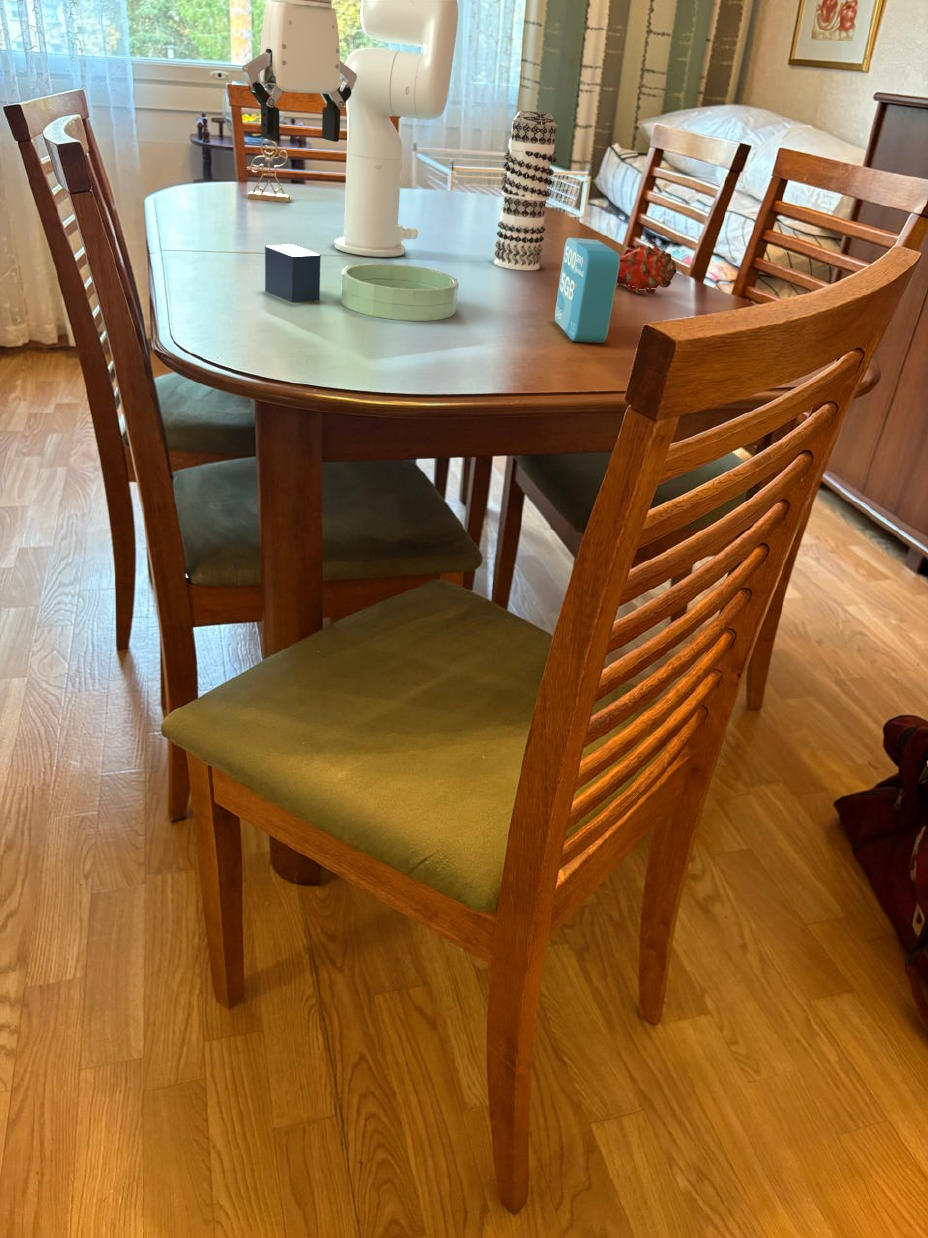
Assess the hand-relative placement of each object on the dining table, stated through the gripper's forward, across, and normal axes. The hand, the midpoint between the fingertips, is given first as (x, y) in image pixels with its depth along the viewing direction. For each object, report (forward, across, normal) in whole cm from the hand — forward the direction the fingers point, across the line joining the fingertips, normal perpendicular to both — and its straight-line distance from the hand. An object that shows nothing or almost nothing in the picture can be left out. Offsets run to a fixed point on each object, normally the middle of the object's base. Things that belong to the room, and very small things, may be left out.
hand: (301, 139), depth 131 cm
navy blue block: (+20, +4, +4) cm, 21 cm away
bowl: (+20, -8, +14) cm, 25 cm away
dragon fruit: (+21, -58, +18) cm, 64 cm away
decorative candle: (+21, -51, -5) cm, 55 cm away
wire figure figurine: (+22, -42, -75) cm, 89 cm away
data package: (+20, -24, +34) cm, 46 cm away
